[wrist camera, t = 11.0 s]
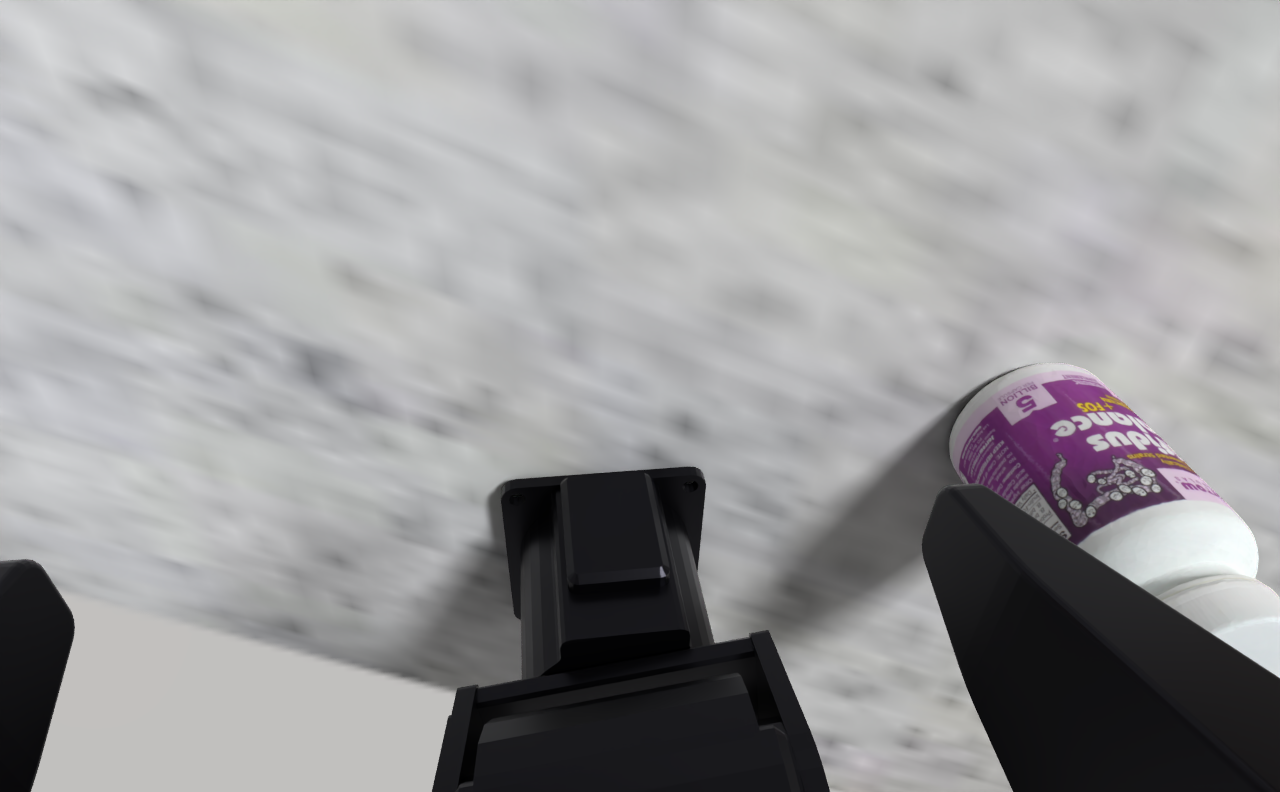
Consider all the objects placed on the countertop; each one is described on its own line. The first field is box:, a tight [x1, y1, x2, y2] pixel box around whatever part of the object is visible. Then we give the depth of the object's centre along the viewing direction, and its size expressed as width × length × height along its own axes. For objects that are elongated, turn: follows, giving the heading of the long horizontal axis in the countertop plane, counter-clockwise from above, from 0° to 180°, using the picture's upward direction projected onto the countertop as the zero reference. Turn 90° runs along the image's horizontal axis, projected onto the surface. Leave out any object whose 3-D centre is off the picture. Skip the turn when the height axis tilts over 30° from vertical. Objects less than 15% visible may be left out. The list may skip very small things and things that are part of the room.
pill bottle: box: [949, 363, 1280, 678], centre depth 22 cm, size 5×5×10 cm
